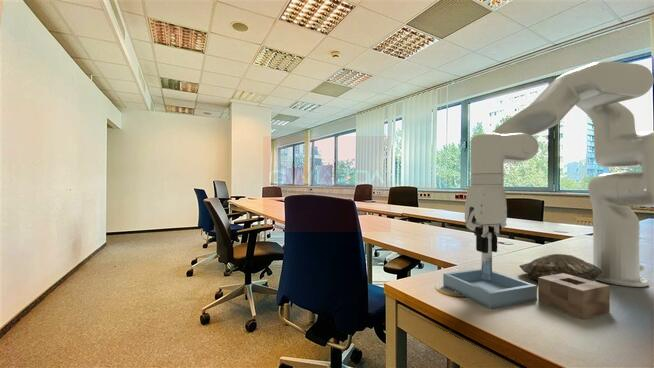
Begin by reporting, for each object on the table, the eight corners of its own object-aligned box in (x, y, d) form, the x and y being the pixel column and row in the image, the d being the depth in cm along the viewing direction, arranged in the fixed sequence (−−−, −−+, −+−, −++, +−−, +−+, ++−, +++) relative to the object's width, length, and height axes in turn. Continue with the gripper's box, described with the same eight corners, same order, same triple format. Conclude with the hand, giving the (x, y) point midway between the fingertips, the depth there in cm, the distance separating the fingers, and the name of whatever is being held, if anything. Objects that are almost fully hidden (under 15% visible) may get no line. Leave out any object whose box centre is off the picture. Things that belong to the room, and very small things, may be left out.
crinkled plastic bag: (504, 256, 88) (553, 241, 92) (509, 283, 88) (558, 267, 93) (557, 270, 72) (613, 251, 77) (563, 304, 72) (619, 283, 77)
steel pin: (486, 276, 74) (486, 231, 74) (494, 279, 72) (494, 233, 72) (479, 277, 74) (479, 231, 74) (487, 280, 71) (487, 233, 71)
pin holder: (563, 297, 70) (563, 273, 70) (609, 312, 61) (609, 285, 61) (538, 302, 67) (538, 277, 67) (582, 319, 58) (582, 290, 58)
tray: (484, 279, 82) (484, 268, 82) (537, 299, 68) (536, 285, 68) (443, 286, 78) (443, 273, 78) (490, 308, 63) (490, 293, 63)
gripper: (496, 181, 79) (496, 246, 79) (451, 181, 74) (451, 250, 74) (522, 181, 72) (522, 252, 72) (474, 181, 67) (474, 257, 67)
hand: (486, 250), depth 73 cm, fingers closed on steel pin, 2 cm apart
